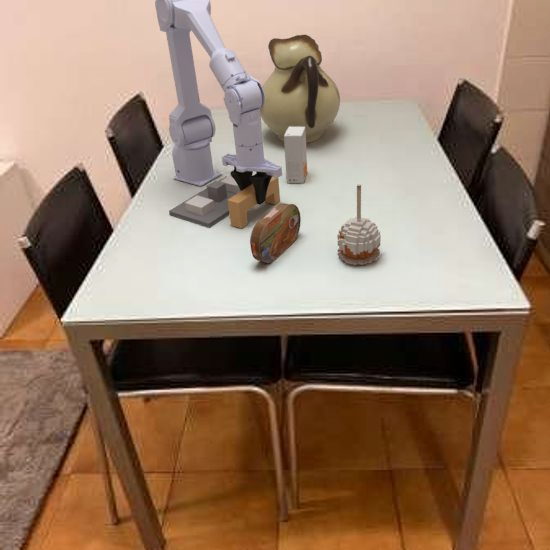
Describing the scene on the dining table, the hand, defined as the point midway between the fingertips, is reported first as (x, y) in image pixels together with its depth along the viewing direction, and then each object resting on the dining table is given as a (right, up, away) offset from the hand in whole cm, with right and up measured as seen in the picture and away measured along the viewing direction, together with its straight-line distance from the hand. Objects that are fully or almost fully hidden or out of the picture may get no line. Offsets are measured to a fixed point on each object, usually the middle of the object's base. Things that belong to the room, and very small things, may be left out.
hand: (254, 200), depth 130 cm
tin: (+5, -11, -11) cm, 17 cm away
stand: (-9, +1, +7) cm, 11 cm away
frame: (0, -2, +2) cm, 3 cm away
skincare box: (+10, +7, +15) cm, 19 cm away
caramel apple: (+20, -13, -15) cm, 28 cm away
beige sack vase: (+12, +23, +37) cm, 45 cm away
